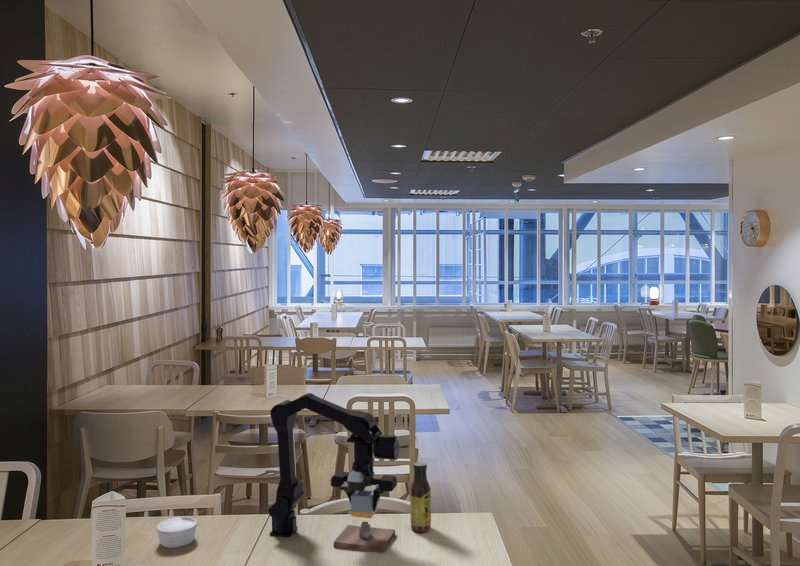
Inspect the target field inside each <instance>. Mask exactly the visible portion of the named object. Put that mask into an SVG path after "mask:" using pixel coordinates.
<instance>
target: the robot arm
mask: <svg viewBox="0 0 800 566" xmlns="http://www.w3.org/2000/svg"><path fill="white" fill-rule="evenodd" d="M305 409H306V410H308V411H311V412H313V413H315V414H318V415H319V416H322V417H324V418H327V419H330V420H332V421H333V422H336V423H339V424H340V425H342V426H343V427H344V428H345V429H346V430H347V431H348V432H349V433H351V434H350V436H349V437H348V438H347V439H346V440H345V441H346V443H351V444H353V462H352V465H351V471H350V472H348V471H339V470H338V471H337V472H336V473H334V474H333V475H332V477H330V478H331V479H330V486H331V487H333V488H335V487H336V488H339V489H340V490H341V491H344V493H345V494H346V496H347V499H348V501H349V504H351V495H352V494H353V493H354V492H355V491H364V490H365V489H366V488H367V487H371V486H375V488H374V489H373V490H374V491H373V493H374V502H373V511H374V512H375V511H376V508H377V509H378V505H379V501H380V499H381V496H382V494H385V492H393V490H394V489H395V488H396V487H397V485H398V479H397V477H396V476H395V475H390V474H389V475H387V474H383V476H382V477H380V478H378V477H377V478H375V476H376V475H375V471H374V463H375V458H374V457H376V459H378V460H390V461H391V460H392V461H397V460H398V459H399V456H400V444H399V440H398V436H397V435H395V434H393V435H387V434H386V435H385V434H384V435H383V432H382V431H381V429H380V428H379V426H378V425H377V423H376V421H375V420H376V419H375V417H374V415H373V414H371V413H370V412H366V411H361V410H357V409H353V410H352V409H348V408H345V407H343V406H340V405H338V404H336V403H333V402H332V401H328V400H326V399H323V398H321V397H319V396H316V395H315V394H314V393H310V392H307V393H305V394H303V395H300V397H297V398H296V399H293V400H290V399H289V400H288V399H286V400H283V401H281V402H279V403H276V404H275V405H274V406H272V408H270V414H269V415H270V418H271V423H272V426H273V428H274V430H275V432H276V435H277V438H276V439H277V449H278V450H277V452H278V469H279V482H278V485H277V489H276V494H275V502H274V503H273V505H271V506H270V507H269V508H268V509H267V511H268V514H269V516H270V517H271V531H270V532H269V536H277V537H285V538H288V537H291V535H292V534H294V532H296V531H297V530H298V526H297V516H296V510H294V509H295V508H297V505H298V504H299V503H300V502H301V501H302V498H303V495H305V492H304V489H303V486H304V482H303V480H301V481H298V478H297V476H296V462H295V461H296V460H295V458H296V457H295V445H294V442H295V441H294V429H295V425H296V421H297V414H298V413H299V412H300V411H303V410H305ZM376 512H377V511H376ZM376 512H375V513H376Z"/></svg>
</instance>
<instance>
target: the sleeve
mask: <svg viewBox="0 0 800 566" xmlns="http://www.w3.org/2000/svg"><path fill="white" fill-rule="evenodd" d="M374 490H375V489H366V488H365V490H364V491H356V490H355V492H354V493H353V494H352V495H351V503H350V517H354V518H365V519H372V518H373V516H374V515H375V514H376V512H377V511H378V507H377V508H376V511H375V512H374V511H373V502H374V493H373V491H374Z"/></svg>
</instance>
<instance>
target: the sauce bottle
mask: <svg viewBox="0 0 800 566" xmlns="http://www.w3.org/2000/svg"><path fill="white" fill-rule="evenodd" d="M427 469H428V465H427V463H426V462H424V461H423V462H422V461H420V462H419V461H417V462H415V463H413V474H414V475H413V480H412V481H411V484H410V497H409V499H410V500H409V501H410V502H409V503H410V506H409V507H410V509H409V511H410V529H411V530H412V531H414V532H418V533H423V532H429V530H430V529H431V525H432V508H431V507H432V506H431V505H432V497H431V494H432V493H431V492H432V491H431V487H430V484H429V481H428V478H427V477H428V475H427Z"/></svg>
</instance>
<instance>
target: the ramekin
mask: <svg viewBox="0 0 800 566" xmlns="http://www.w3.org/2000/svg"><path fill="white" fill-rule="evenodd" d="M197 527H198V521H197V519H195V518H193V517H189V516H178V517H177V516H176V517H171V518H168V519H165V520H163V521H161V522H159V523H158V524H157V525H156V532H157V535H158V539H159V544H160V545H161V546H162V547H164V548H167V547H168V549H176V547H177V548H181V546H182V547H185V546H188V545H190V544H191V543H192V542H193V541H194V539H195V536H196V531H197V530H196V529H197Z"/></svg>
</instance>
